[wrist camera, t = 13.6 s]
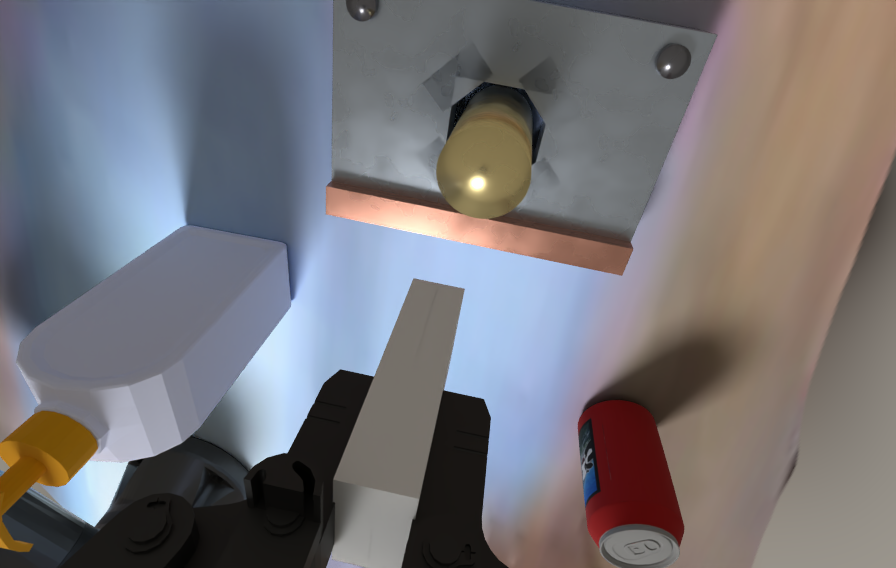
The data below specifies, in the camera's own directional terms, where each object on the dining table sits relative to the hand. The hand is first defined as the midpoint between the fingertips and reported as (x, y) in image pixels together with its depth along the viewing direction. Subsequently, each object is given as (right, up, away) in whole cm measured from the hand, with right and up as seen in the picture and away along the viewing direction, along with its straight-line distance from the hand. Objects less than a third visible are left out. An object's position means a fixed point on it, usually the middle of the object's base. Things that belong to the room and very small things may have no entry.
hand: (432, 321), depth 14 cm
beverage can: (+16, -11, +29) cm, 35 cm away
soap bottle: (-17, +3, +26) cm, 32 cm away
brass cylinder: (+4, +12, +16) cm, 20 cm away
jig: (+4, +12, +16) cm, 20 cm away
